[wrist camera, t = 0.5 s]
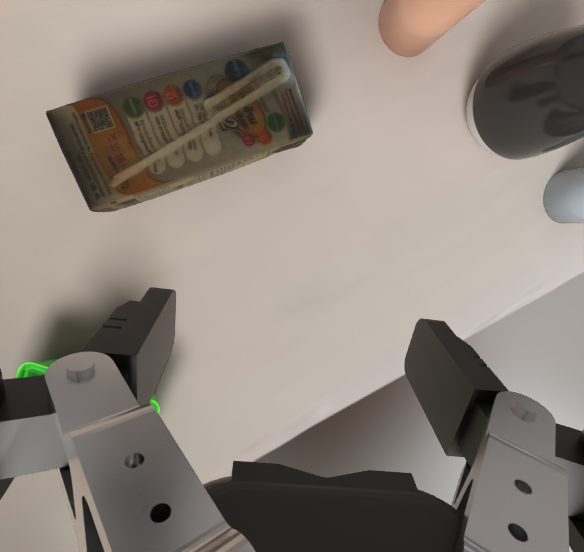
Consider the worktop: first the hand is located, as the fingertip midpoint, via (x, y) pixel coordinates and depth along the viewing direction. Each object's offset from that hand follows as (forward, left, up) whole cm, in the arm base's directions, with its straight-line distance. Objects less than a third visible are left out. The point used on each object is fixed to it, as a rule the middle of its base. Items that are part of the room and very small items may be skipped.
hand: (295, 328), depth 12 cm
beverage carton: (-11, -4, -26) cm, 28 cm away
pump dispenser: (-14, +27, -25) cm, 40 cm away
